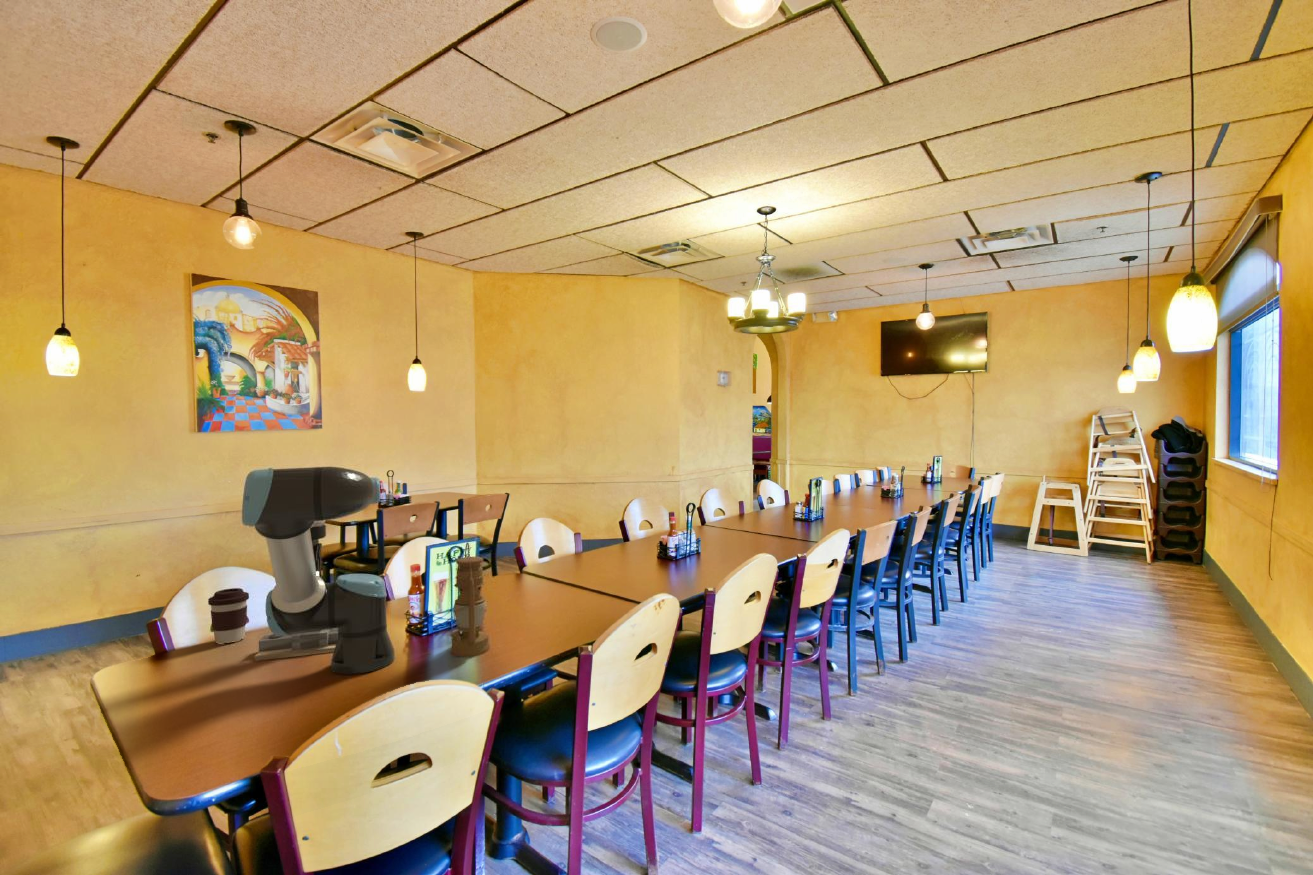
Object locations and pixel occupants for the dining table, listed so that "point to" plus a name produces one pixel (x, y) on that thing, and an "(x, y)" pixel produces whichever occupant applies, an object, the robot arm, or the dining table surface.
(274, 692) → the dining table surface
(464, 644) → the lantern
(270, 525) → the robot arm
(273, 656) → the chain bed
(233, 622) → the coffee cup
